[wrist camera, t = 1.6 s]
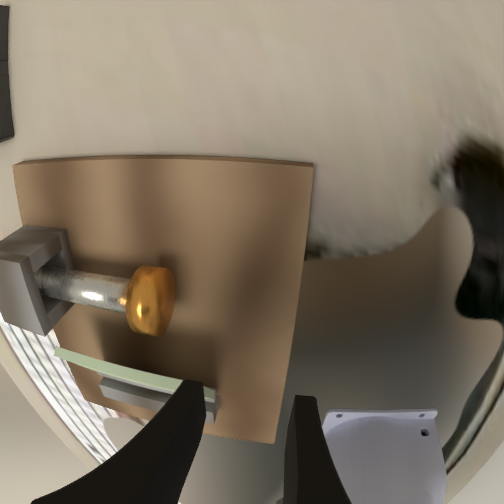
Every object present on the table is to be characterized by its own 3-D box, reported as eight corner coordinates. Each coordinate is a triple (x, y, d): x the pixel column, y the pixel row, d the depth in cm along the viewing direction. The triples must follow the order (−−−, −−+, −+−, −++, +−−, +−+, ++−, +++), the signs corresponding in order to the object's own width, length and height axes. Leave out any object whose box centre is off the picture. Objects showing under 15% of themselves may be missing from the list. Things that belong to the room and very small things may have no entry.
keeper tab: (197, 379, 15) (194, 398, 15) (217, 389, 21) (215, 402, 20) (57, 343, 16) (53, 358, 16) (104, 363, 22) (101, 375, 22)
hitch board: (313, 163, 15) (318, 196, 10) (275, 434, 25) (267, 488, 20) (22, 161, 17) (-38, 187, 12) (89, 392, 27) (64, 433, 22)
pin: (172, 255, 16) (144, 292, 13) (177, 309, 18) (155, 350, 15) (52, 241, 17) (17, 268, 14) (64, 288, 19) (34, 318, 16)
